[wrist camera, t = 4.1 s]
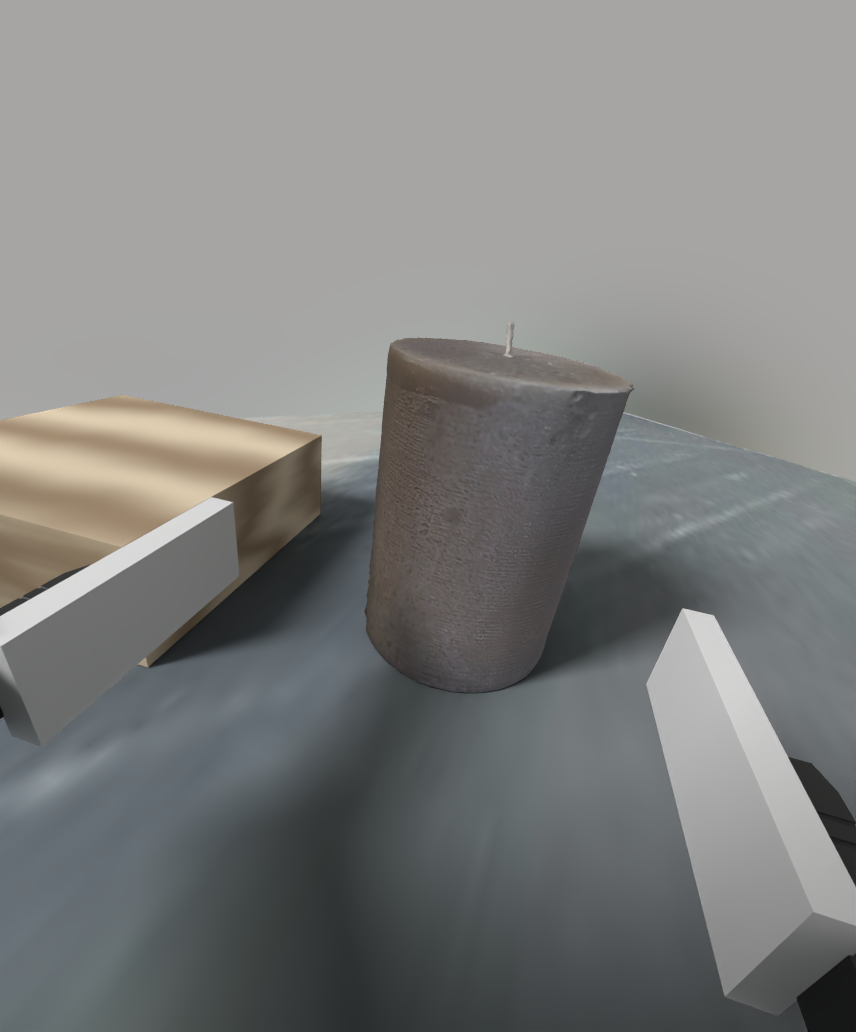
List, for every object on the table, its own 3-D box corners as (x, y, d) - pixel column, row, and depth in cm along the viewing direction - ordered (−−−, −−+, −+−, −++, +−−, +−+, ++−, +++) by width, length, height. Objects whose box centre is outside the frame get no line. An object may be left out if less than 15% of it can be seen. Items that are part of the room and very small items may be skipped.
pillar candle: (330, 603, 24) (339, 297, 17) (459, 554, 30) (504, 313, 23) (450, 736, 18) (540, 342, 11) (582, 642, 24) (694, 348, 17)
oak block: (136, 470, 36) (122, 395, 33) (320, 513, 33) (321, 435, 30) (-134, 577, 22) (-197, 461, 19) (147, 667, 19) (121, 546, 16)
